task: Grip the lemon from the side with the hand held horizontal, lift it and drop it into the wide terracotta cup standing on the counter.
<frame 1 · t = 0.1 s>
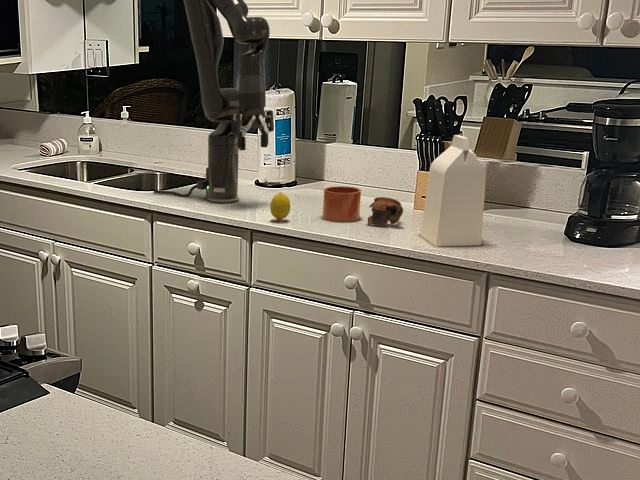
hand: (253, 148, 272), 17 cm above the countertop, tool pointing down, fingers open, 8 cm apart
milk: (449, 240, 240), on the countertop
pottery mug: (385, 224, 257), on the countertop
lemon: (279, 221, 261), on the countertop
crock: (340, 218, 264), on the countertop
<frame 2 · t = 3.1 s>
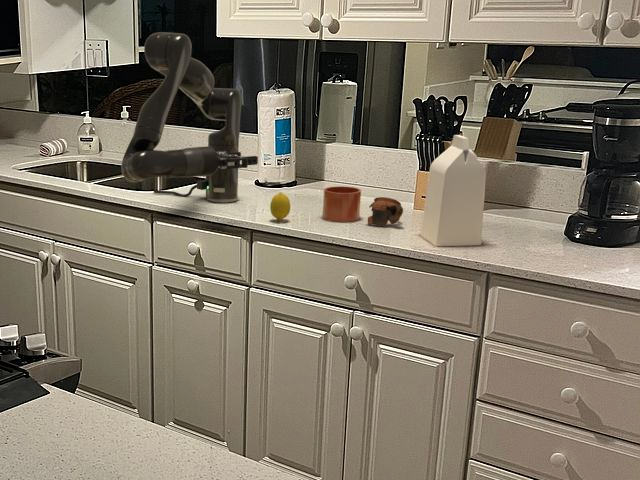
hand: (248, 157, 250), 18 cm above the countertop, tool horizontal, fingers open, 8 cm apart
nothing on the countertop moved.
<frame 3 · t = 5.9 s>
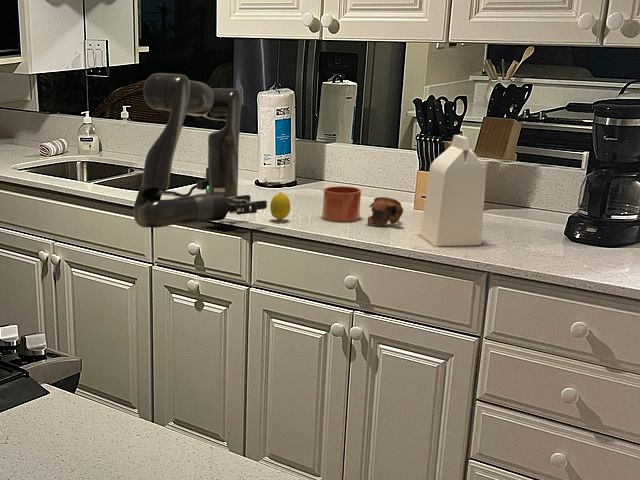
hand: (257, 201, 256), 6 cm above the countertop, tool horizontal, fingers open, 8 cm apart
nothing on the countertop moved.
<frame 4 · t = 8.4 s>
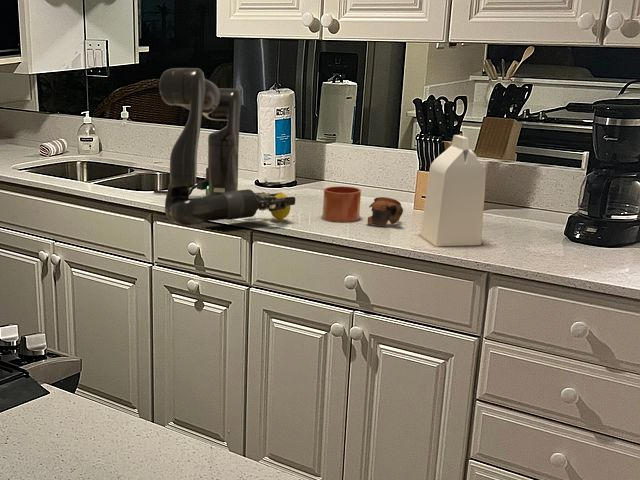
hand: (288, 198, 260), 6 cm above the countertop, tool horizontal, fingers closed on lemon, 5 cm apart
lemon: (279, 221, 261), on the countertop, touching gripper
everything else where it was.
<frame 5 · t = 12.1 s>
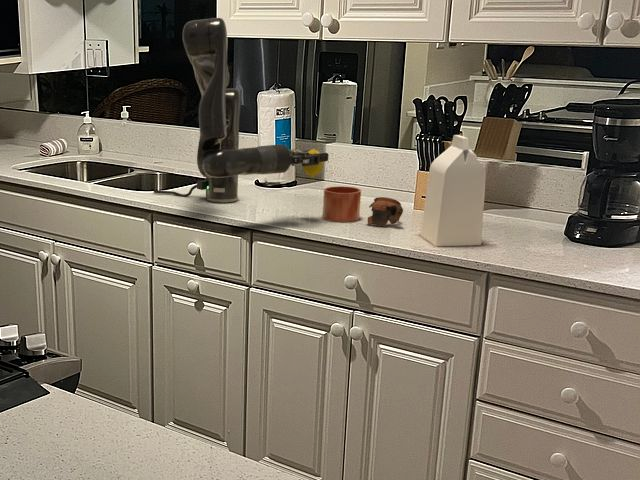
hand: (320, 155, 257), 18 cm above the countertop, tool horizontal, fingers closed on lemon, 5 cm apart
lemon: (311, 178, 258), point 11 cm above the countertop, touching gripper
everything else where it was.
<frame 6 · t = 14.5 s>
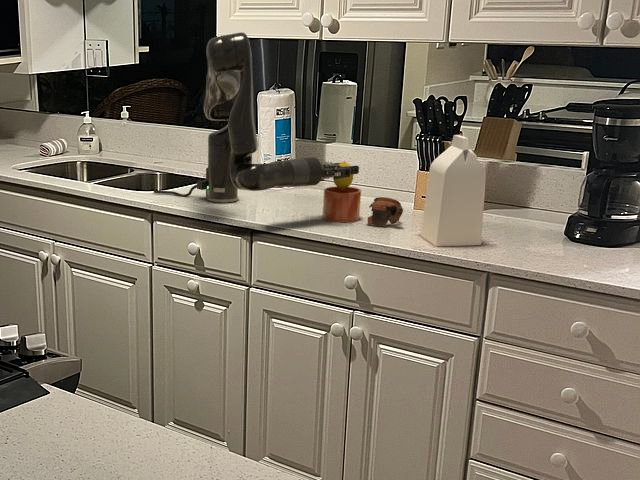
hand: (351, 168, 260), 14 cm above the countertop, tool horizontal, fingers closed on lemon, 5 cm apart
lemon: (342, 191, 261), point 8 cm above the countertop, touching gripper
everything else where it was.
when the fingers open (12 cm above the countertop, at t = 15.6 s): lemon drops 5 cm, resting on crock.
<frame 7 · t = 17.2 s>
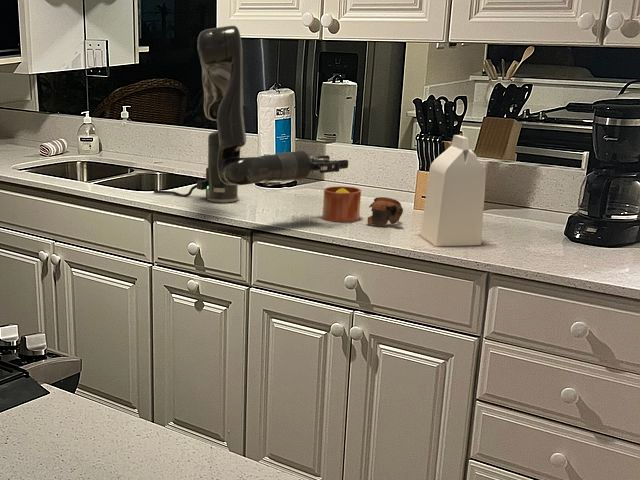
hand: (337, 161, 258), 16 cm above the countertop, tool horizontal, fingers open, 8 cm apart
lemon: (340, 216, 264), resting on crock
everything else where it was.
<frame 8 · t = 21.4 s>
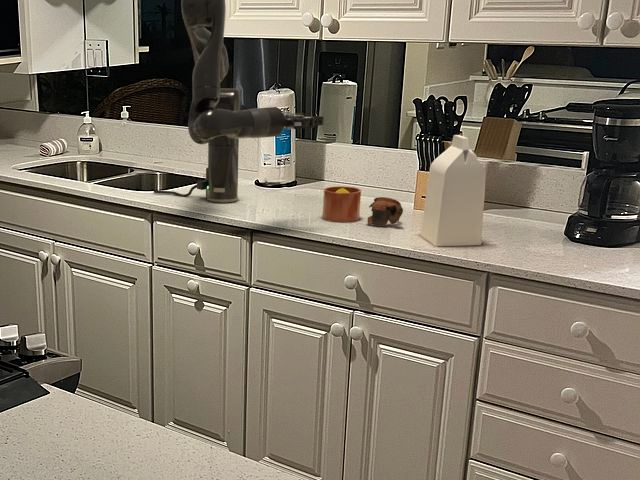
hand: (313, 118, 249), 28 cm above the countertop, tool horizontal, fingers open, 8 cm apart
nothing on the countertop moved.
at the end: lemon inside the target area in the crock (0.2 cm from its centre), point 0.4 cm above the crock's base; the gripper is holding nothing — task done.
